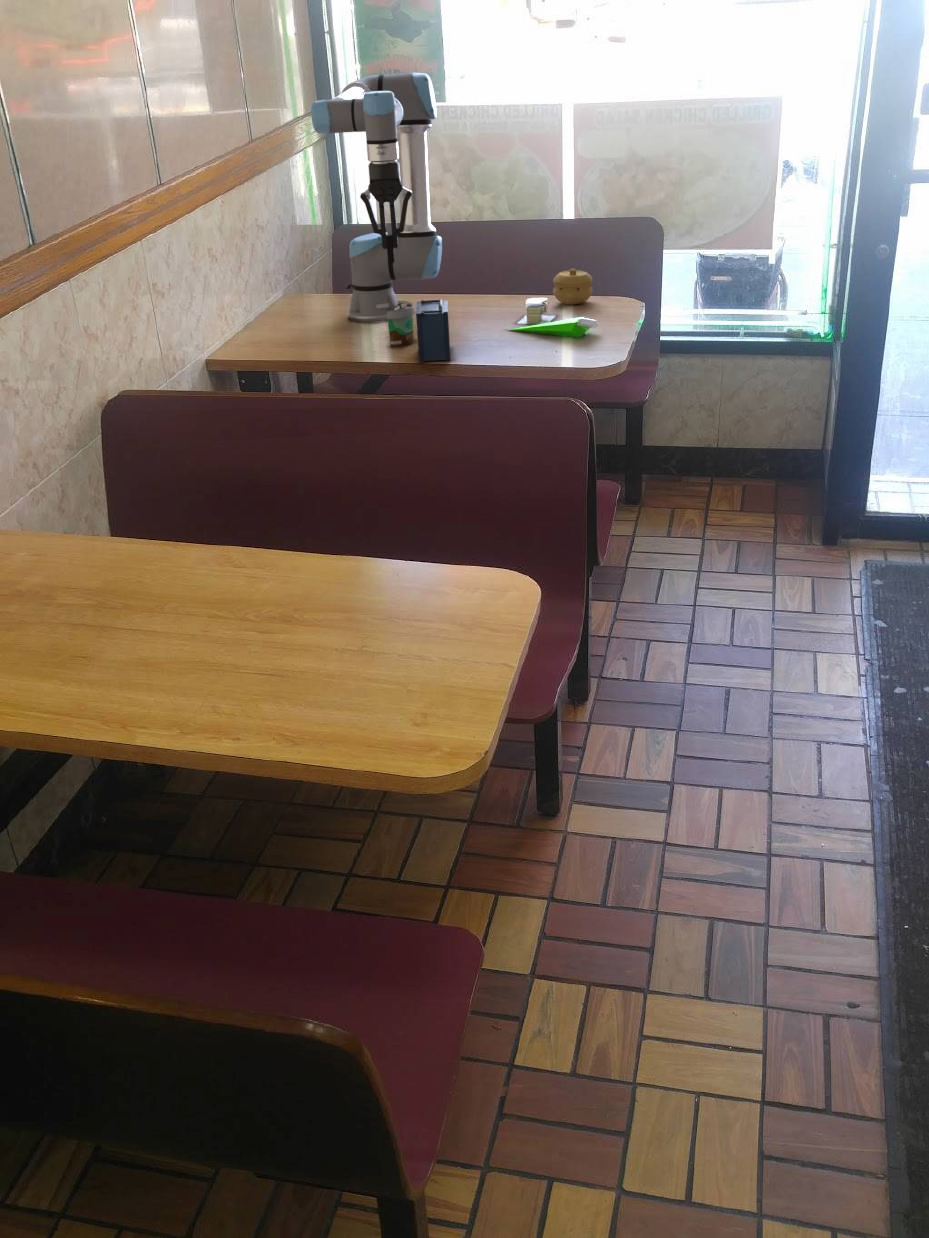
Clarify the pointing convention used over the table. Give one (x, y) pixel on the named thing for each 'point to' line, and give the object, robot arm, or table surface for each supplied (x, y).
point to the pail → (433, 330)
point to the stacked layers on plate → (536, 312)
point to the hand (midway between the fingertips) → (391, 261)
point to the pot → (572, 286)
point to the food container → (401, 324)
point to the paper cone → (562, 327)
